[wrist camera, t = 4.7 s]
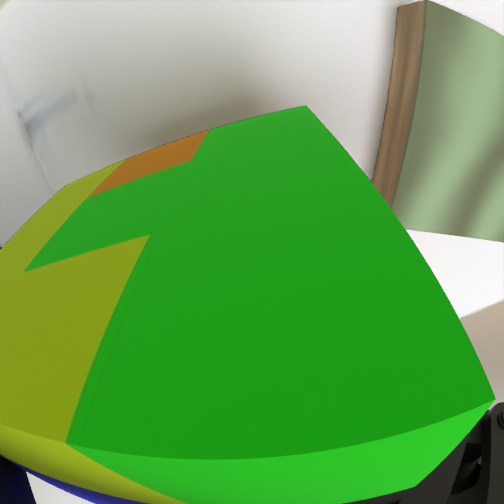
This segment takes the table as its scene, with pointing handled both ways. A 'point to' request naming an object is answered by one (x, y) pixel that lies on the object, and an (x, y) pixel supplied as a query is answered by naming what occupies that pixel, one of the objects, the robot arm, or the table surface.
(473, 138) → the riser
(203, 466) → the puzzle toy
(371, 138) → the table surface
